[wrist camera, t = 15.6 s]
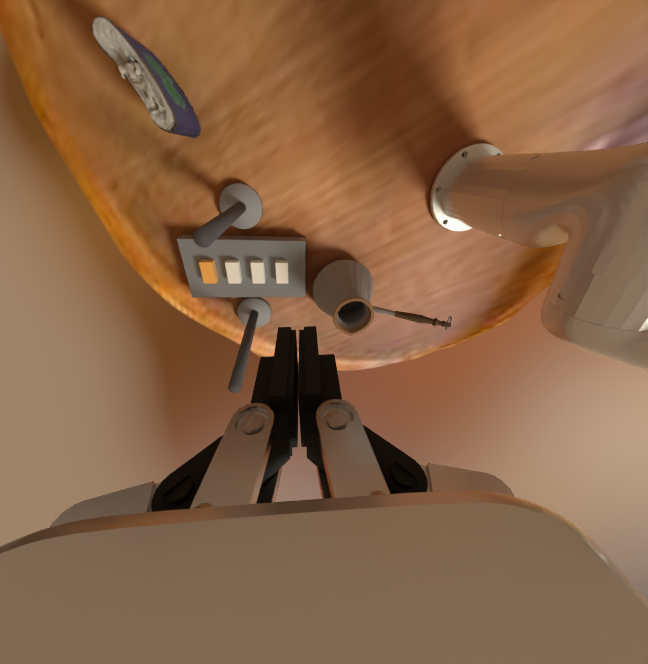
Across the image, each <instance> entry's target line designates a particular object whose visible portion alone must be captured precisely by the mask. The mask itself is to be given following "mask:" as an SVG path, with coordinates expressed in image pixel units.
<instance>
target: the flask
mask: <svg viewBox="0 0 648 664" xmlns="http://www.w3.org/2000/svg"><path fill="white" fill-rule="evenodd" d="M92 29H93V30H92V33H93V35H94V37H95V39H96V40H97V42H98V44H99V45H100V47H101V48H102V49H103V50H104V51H105V52H106V54H108V55H109V56H110V58H111V59H112V60H113V61H114V62H115V63H116V64H117V65H118V69H119V71H120V73H121V77H122V78H123V79H125V76H126V77H127V79H128V80H129V81H130V83H131V84H132V86H133V87H134V89H135V90H136V91H137V93H138V94H139V96H140V98H141V99H142V101H143V102H144V104H145V106H146V108H147V110H148V112H149V114H150V116H151V118H152V119H153V121H154V122H155V124H156V125H157V126H158V127H159V128H161V129H162V130H163V131H166V132H168V133H173V134H179V135H184V136H189V137H193V138H196V137H197V136H199V135H200V133H201V125H200V123H199V120H198V117H197V115H196V114H195V112H194V110H193V107H192V106H191V104H190V102H189V100H188V98H187V97H186V96H185V94H184V92H183V90H182V89H181V88H180V87H179V86H178V84H177V83H176V81H175V80H174V79H173V77H172V76H171V75H170V74H169V72H168V70H167V69H166V68H165V66H163V64H162V63H161V62H160V60H159V59H158V58H157V57H156V56H155V55H154V54H153V53H152V52H151V51H149V50H148V49H146V48H145V47H144V46H143V45H141V44H140V43H138V42H137V41H136V40H135V39H133V38H132V37H130V36H129V35H128V34H127V33H125V32H124V31H123V30H121V29H120V28H119V27H118V26H116V25H115V24H114V23H113V22H111V21H110V20H109V19H107V18H106V17H103V16H98V17H96V18H94V19H93V24H92ZM124 75H125V76H124Z"/></svg>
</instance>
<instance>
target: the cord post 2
mask: <svg viewBox="0 0 648 664" xmlns="http://www.w3.org/2000/svg"><path fill="white" fill-rule="evenodd" d="M237 313H238V317H239V319H240V320H241V321H242V322H243V323H244V324H245V325H246V329H245V332H244V335H243V339H242V342H241V346H240V349H239V352H238V356H237V360H236V363H235V366H234V369H233V373H232V376H231V380H230V383H229V386H228V389H229V391H231V392H234V393H236V392H239V391H240V390H241V386H242V381H243V378H244V373H245V369H246V365H247V360H248V356H249V352H250V348H251V344H252V340H253V335H254V331H255V327H261V326H264V325H265V324H267V323H268V321H269V320H270V317H271V308H270V305H269V304H268V303H267V302H266V301H265V300H264V299H262V298H260V297H247V298H245V299H243V300H242V301H241V303H240V304H239V307H238V311H237Z"/></svg>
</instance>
